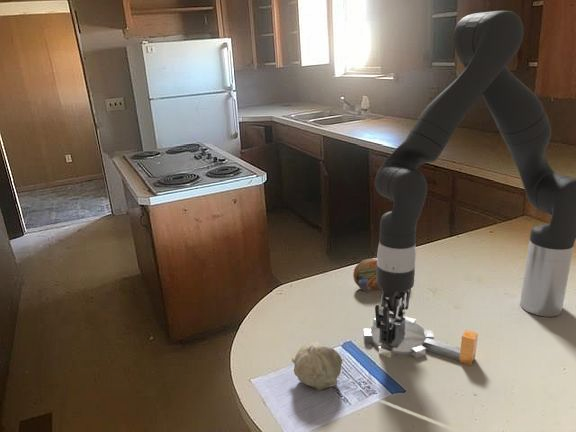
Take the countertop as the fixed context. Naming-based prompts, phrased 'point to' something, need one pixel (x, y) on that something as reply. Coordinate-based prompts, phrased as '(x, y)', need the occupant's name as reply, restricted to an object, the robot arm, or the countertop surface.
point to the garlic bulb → (317, 365)
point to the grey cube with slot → (397, 332)
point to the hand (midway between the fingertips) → (391, 336)
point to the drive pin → (456, 348)
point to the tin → (366, 275)
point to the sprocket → (408, 346)
